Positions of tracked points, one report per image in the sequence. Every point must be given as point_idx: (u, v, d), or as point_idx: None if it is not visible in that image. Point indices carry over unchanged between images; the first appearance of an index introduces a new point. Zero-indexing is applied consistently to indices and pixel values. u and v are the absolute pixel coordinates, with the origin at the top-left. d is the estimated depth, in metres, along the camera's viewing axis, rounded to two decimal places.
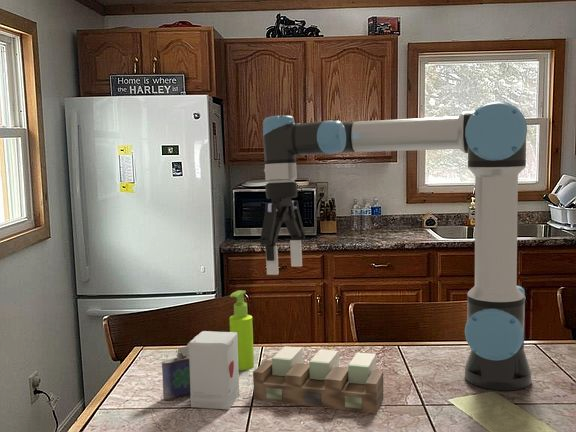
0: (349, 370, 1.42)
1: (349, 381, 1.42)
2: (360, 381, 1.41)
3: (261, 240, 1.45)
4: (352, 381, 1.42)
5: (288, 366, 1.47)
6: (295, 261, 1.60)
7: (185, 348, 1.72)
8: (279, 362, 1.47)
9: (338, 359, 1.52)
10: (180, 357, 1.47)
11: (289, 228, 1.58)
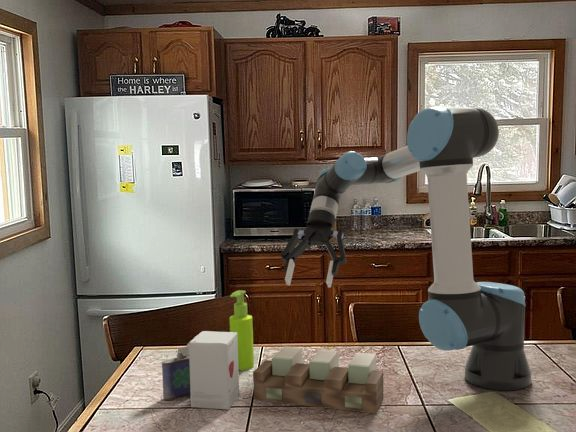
0: (349, 370, 1.42)
1: (349, 381, 1.42)
2: (360, 381, 1.41)
3: None
4: (352, 381, 1.42)
5: (288, 366, 1.47)
6: None
7: (185, 348, 1.72)
8: (279, 362, 1.47)
9: (338, 359, 1.52)
10: (180, 357, 1.47)
11: (329, 253, 1.71)
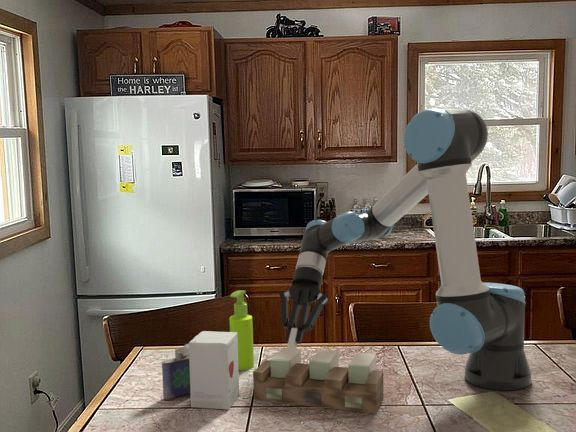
0: (349, 370, 1.42)
1: (349, 381, 1.42)
2: (360, 381, 1.41)
3: None
4: (352, 381, 1.42)
5: (286, 368, 1.46)
6: None
7: (182, 349, 1.71)
8: (277, 364, 1.46)
9: (338, 359, 1.52)
10: (180, 357, 1.47)
11: None
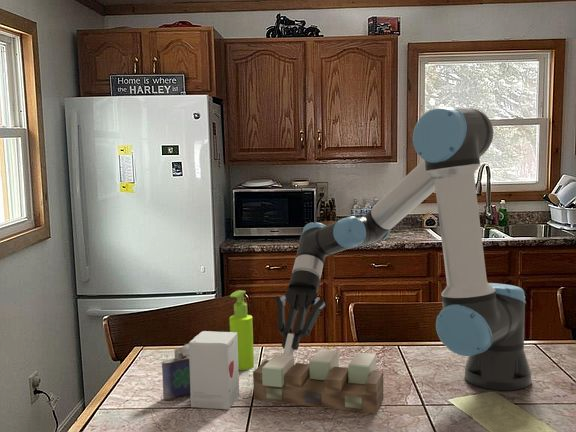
0: (349, 370, 1.42)
1: (349, 381, 1.42)
2: (360, 381, 1.41)
3: None
4: (352, 381, 1.42)
5: (279, 376, 1.41)
6: None
7: (181, 349, 1.71)
8: (269, 372, 1.41)
9: (338, 359, 1.52)
10: (180, 357, 1.47)
11: None
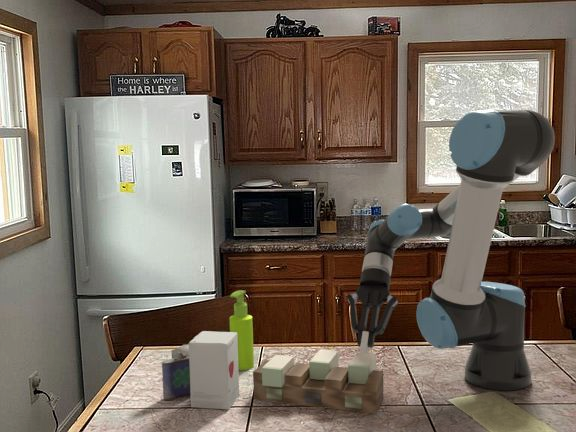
0: (349, 370, 1.42)
1: (349, 381, 1.42)
2: (360, 382, 1.41)
3: (353, 329, 1.58)
4: (352, 381, 1.42)
5: (279, 376, 1.41)
6: None
7: (178, 349, 1.71)
8: (269, 372, 1.41)
9: (338, 359, 1.52)
10: (180, 357, 1.47)
11: None
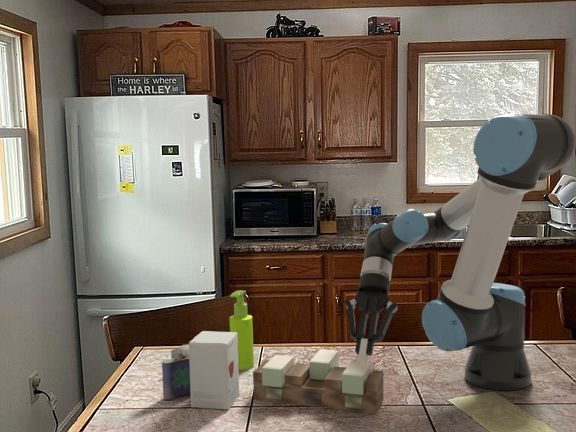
0: (343, 379, 1.36)
1: (343, 391, 1.37)
2: (354, 391, 1.36)
3: (351, 336, 1.52)
4: (346, 391, 1.37)
5: (279, 376, 1.41)
6: None
7: (178, 349, 1.71)
8: (269, 372, 1.41)
9: (338, 359, 1.52)
10: (180, 357, 1.47)
11: None
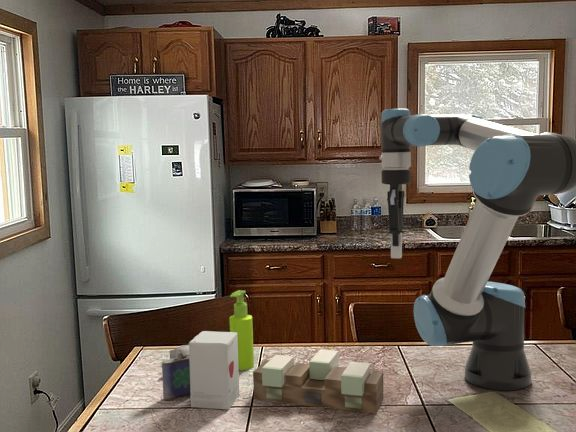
0: (342, 380, 1.36)
1: (342, 392, 1.36)
2: (354, 393, 1.35)
3: (391, 230, 1.66)
4: (345, 392, 1.36)
5: (279, 376, 1.41)
6: None
7: None
8: (269, 372, 1.41)
9: (338, 359, 1.52)
10: (180, 357, 1.47)
11: None
